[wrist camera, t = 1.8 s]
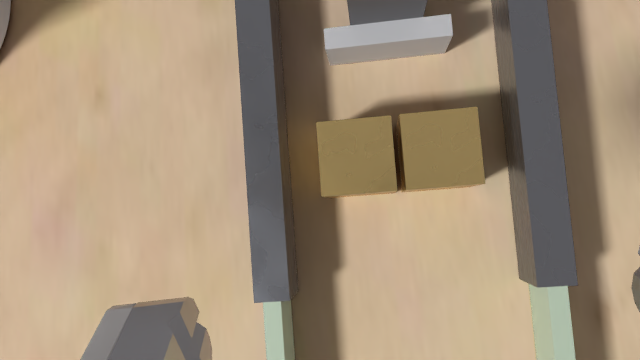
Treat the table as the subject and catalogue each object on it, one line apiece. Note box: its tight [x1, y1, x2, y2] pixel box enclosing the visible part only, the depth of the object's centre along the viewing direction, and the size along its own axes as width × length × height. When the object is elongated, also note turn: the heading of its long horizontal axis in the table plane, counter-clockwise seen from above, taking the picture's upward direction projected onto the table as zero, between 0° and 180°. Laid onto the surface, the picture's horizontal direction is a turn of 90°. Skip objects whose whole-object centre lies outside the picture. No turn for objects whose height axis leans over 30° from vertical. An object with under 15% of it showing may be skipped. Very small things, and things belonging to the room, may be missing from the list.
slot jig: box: [235, 0, 578, 303], centre depth 27 cm, size 20×17×3 cm
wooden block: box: [396, 107, 485, 192], centre depth 26 cm, size 4×4×4 cm
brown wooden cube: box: [316, 115, 397, 198], centre depth 27 cm, size 4×4×4 cm
